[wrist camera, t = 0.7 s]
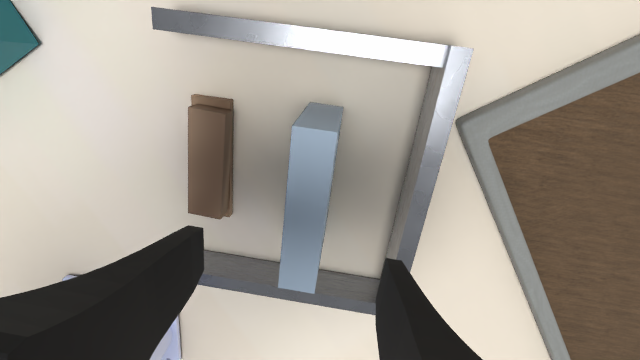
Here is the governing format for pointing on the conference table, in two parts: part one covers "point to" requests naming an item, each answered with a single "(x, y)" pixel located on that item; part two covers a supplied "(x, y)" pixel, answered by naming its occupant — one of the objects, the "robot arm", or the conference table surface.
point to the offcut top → (209, 159)
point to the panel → (308, 194)
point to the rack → (421, 167)
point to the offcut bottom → (228, 104)
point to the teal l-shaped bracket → (13, 36)
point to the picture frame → (570, 199)
